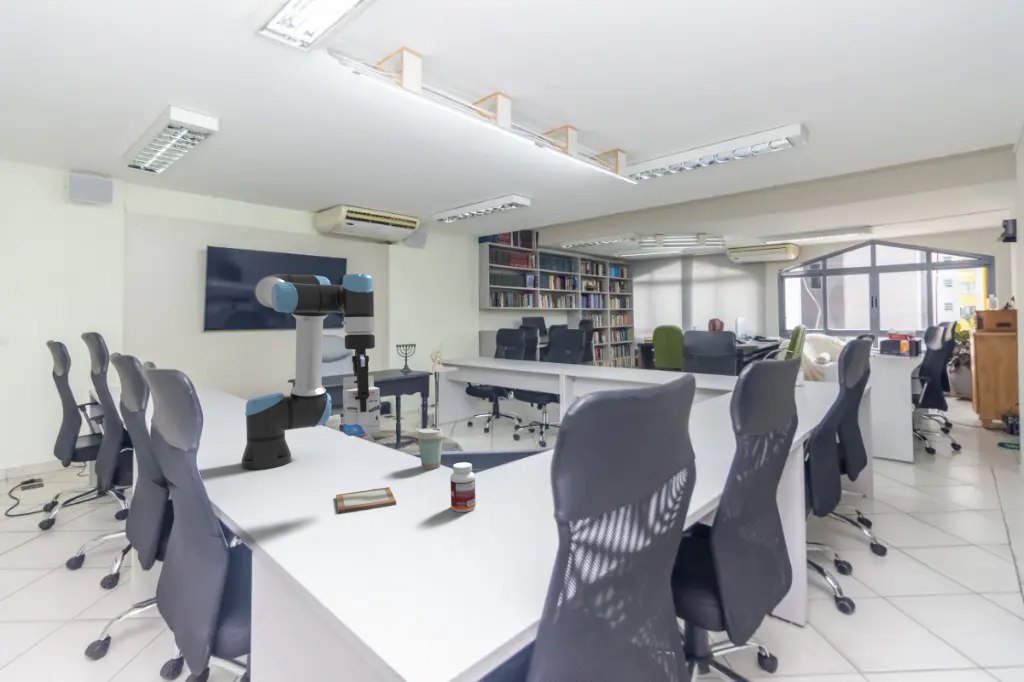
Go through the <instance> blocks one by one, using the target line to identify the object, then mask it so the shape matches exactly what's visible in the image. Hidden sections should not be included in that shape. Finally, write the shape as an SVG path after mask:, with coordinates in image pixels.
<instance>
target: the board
mask: <svg viewBox="0 0 1024 682" xmlns="http://www.w3.org/2000/svg"><path fill="white" fill-rule="evenodd" d="M335 499H336V505H337V511H338V514H344V513H345V514H346V513H351V512H357V511H362V510H370V509H375V508H383V507H388V506H395V505H397V500H396V498H395V496H394V495H393V492H392V491H391V488H390V486H386V487H380V488H374V489H368V490H359V491H353V492H347V493H340V494H336V495H335Z"/></svg>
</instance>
